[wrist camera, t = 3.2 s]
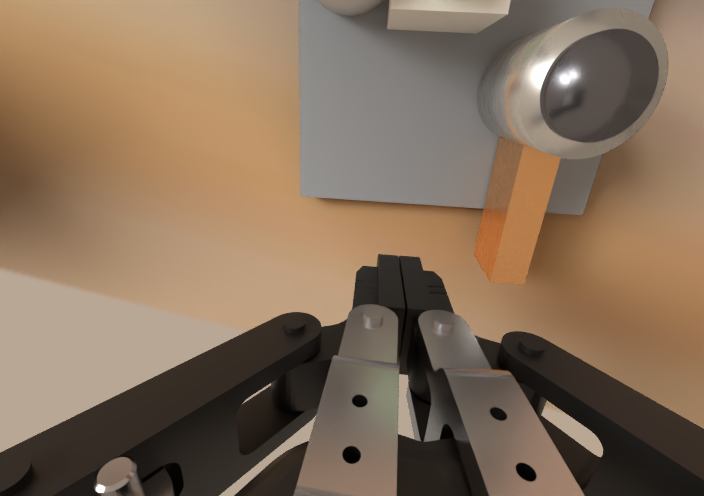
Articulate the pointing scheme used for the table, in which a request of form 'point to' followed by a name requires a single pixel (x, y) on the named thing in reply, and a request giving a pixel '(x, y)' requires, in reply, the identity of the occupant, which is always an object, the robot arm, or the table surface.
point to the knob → (559, 118)
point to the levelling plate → (416, 98)
